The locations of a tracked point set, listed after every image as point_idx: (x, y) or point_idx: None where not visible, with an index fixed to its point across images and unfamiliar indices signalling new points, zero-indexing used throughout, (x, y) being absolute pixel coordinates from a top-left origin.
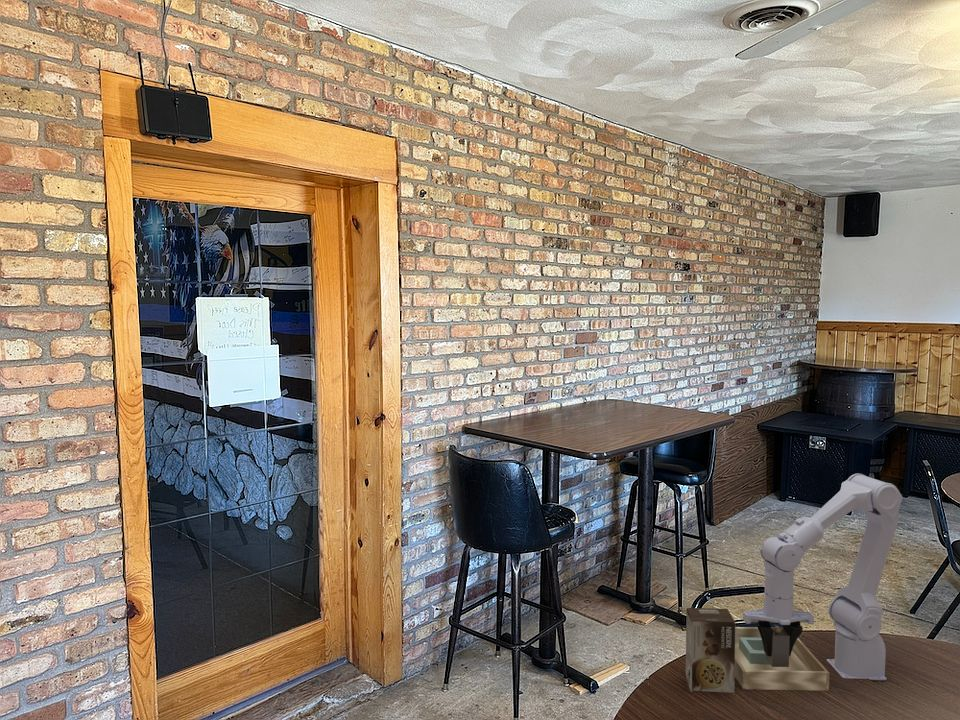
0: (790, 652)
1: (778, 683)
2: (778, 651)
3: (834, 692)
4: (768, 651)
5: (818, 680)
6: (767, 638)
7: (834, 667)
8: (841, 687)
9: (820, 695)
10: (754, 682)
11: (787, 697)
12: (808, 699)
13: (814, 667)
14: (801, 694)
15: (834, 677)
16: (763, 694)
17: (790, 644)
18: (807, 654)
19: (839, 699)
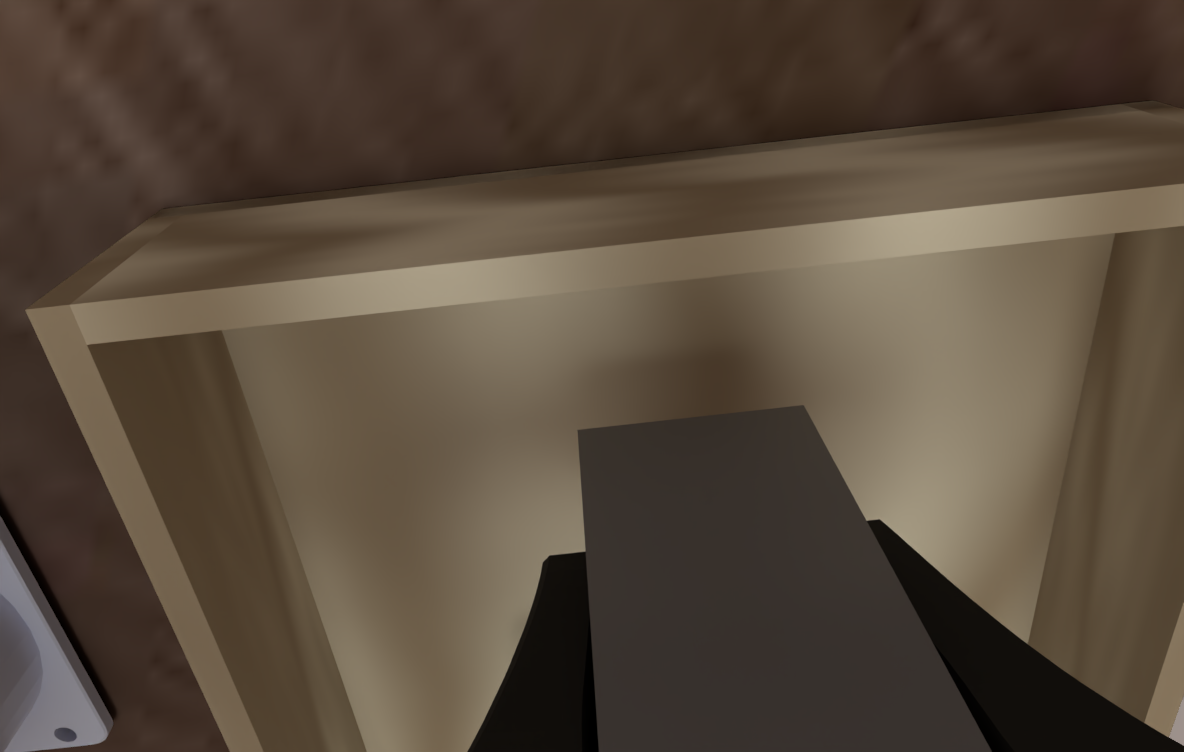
0: (551, 591)
1: (766, 174)
2: (776, 559)
3: (95, 237)
4: (921, 558)
5: (232, 246)
6: (1127, 742)
7: (44, 637)
8: (10, 346)
9: (264, 151)
10: (1084, 143)
11: (669, 49)
12: (426, 38)
13: (236, 533)
14: (481, 141)
15: (68, 508)
16: (932, 78)
17: (564, 698)
18: (271, 710)
19: (50, 92)
